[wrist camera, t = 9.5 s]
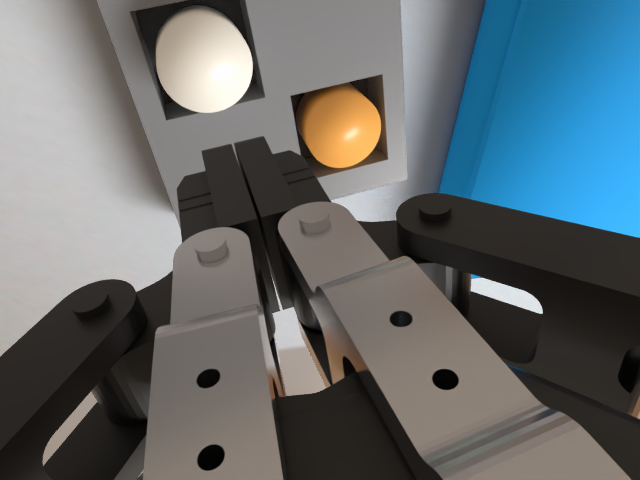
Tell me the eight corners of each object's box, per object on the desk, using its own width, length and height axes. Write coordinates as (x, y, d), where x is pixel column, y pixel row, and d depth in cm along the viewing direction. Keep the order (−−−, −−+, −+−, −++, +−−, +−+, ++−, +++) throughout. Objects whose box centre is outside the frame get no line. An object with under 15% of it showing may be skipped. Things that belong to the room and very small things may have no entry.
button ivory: (233, -3, 23) (240, 7, 21) (252, 85, 25) (261, 101, 23) (143, 15, 22) (142, 27, 20) (171, 103, 24) (173, 122, 22)
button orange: (361, 72, 27) (378, 85, 25) (367, 140, 30) (383, 157, 28) (289, 88, 27) (301, 104, 25) (302, 156, 29) (313, 175, 27)
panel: (367, -231, 21) (390, -244, 19) (391, 161, 31) (407, 179, 29) (39, -183, 19) (26, -192, 17) (182, 215, 29) (184, 239, 27)
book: (867, -162, 24) (648, 263, 38) (778, -154, 28) (606, 233, 41) (573, -220, 20) (442, 288, 33) (511, -201, 23) (414, 251, 37)
